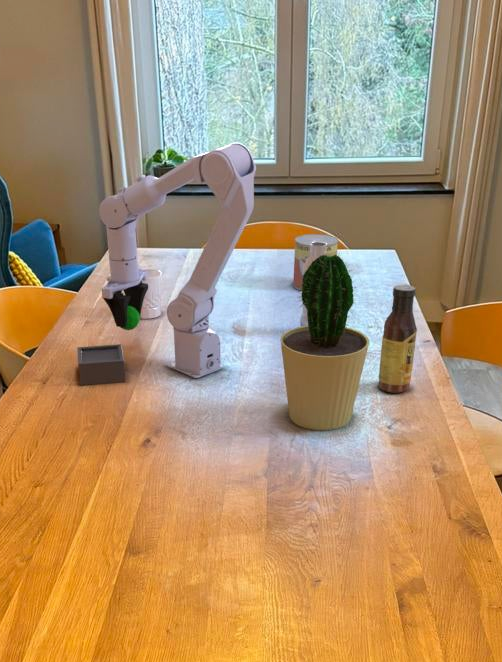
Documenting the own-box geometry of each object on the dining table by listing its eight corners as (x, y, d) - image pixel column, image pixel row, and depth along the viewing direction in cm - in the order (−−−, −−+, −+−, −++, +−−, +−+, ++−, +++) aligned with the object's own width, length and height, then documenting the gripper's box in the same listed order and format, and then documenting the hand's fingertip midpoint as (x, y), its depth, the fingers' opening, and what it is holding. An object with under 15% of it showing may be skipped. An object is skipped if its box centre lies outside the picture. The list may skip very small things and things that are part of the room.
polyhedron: (112, 330, 168) (110, 308, 165) (125, 323, 171) (123, 301, 169) (132, 334, 166) (130, 312, 163) (145, 327, 169) (143, 305, 167)
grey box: (122, 364, 168) (121, 344, 165) (125, 381, 160) (124, 360, 158) (79, 368, 166) (77, 347, 164) (80, 385, 159) (78, 363, 156)
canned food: (288, 290, 209) (290, 243, 202) (297, 277, 218) (299, 232, 211) (331, 293, 206) (334, 246, 200) (338, 281, 215) (341, 235, 209)
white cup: (148, 322, 189) (146, 280, 184) (124, 315, 193) (121, 274, 188) (170, 313, 195) (168, 272, 189) (146, 307, 199) (143, 266, 193)
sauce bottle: (409, 395, 154) (422, 294, 143) (376, 393, 155) (387, 292, 144) (409, 382, 159) (422, 283, 148) (378, 379, 160) (388, 281, 149)
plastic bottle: (327, 328, 185) (333, 240, 174) (327, 338, 179) (333, 248, 169) (299, 327, 186) (303, 239, 175) (299, 337, 180) (303, 247, 169)
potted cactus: (367, 403, 151) (382, 241, 135) (356, 440, 138) (372, 267, 122) (287, 394, 154) (293, 236, 138) (269, 429, 142) (274, 260, 126)
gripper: (125, 246, 167) (130, 309, 175) (86, 264, 156) (93, 330, 164) (154, 250, 165) (158, 313, 172) (116, 268, 154) (122, 335, 161)
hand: (128, 322), depth 168 cm, fingers closed on polyhedron, 5 cm apart
